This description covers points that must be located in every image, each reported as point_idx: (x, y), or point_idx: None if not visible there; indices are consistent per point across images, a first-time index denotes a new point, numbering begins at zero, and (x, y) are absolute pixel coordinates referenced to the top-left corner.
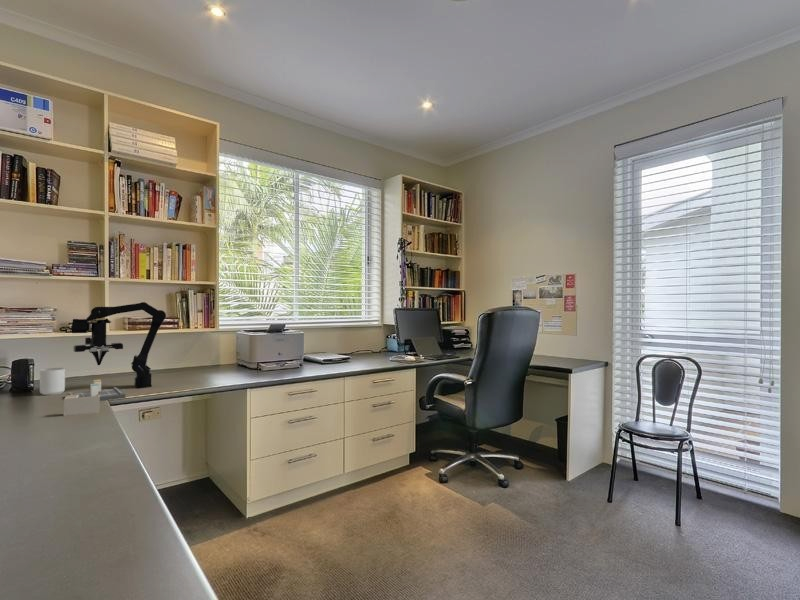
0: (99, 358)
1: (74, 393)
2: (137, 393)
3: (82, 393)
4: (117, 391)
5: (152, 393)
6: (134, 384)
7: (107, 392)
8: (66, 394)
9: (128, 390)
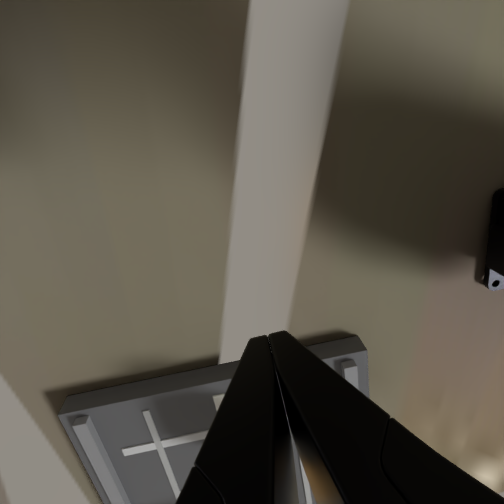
0: (321, 494)
1: (113, 428)
2: (437, 436)
3: (164, 446)
4: None
5: (493, 459)
6: (497, 240)
7: (300, 464)
8: (65, 426)
9: (418, 333)
